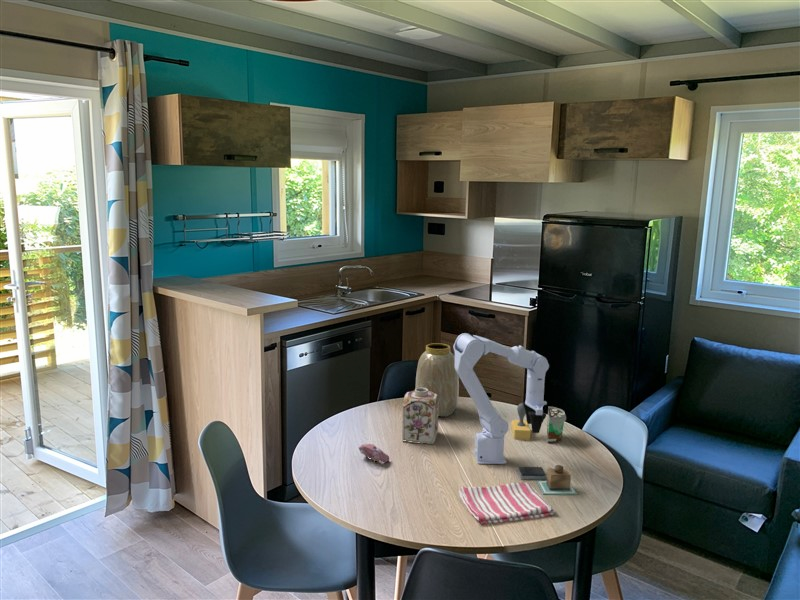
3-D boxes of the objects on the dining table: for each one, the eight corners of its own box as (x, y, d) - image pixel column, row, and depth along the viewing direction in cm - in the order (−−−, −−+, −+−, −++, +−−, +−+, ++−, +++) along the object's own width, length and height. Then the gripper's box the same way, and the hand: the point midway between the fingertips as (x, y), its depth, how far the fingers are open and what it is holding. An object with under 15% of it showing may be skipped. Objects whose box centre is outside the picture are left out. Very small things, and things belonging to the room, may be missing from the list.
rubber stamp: (530, 440, 220) (532, 408, 217) (514, 439, 220) (515, 407, 218) (526, 429, 229) (528, 398, 227) (511, 428, 230) (512, 398, 228)
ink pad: (521, 479, 190) (521, 475, 189) (517, 470, 195) (517, 466, 195) (546, 479, 190) (547, 475, 189) (542, 470, 196) (542, 466, 195)
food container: (565, 446, 214) (567, 419, 213) (547, 444, 216) (549, 417, 214) (563, 432, 226) (565, 407, 225) (546, 431, 228) (548, 405, 226)
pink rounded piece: (361, 460, 205) (354, 445, 201) (370, 451, 207) (363, 436, 204) (383, 470, 198) (376, 454, 195) (391, 460, 201) (385, 445, 197)
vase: (466, 411, 247) (468, 346, 242) (439, 422, 235) (440, 354, 230) (434, 400, 258) (435, 338, 254) (406, 411, 246) (407, 346, 241)
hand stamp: (549, 490, 182) (551, 469, 181) (546, 484, 186) (547, 463, 185) (569, 490, 182) (571, 469, 181) (566, 484, 186) (567, 463, 185)
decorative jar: (438, 432, 225) (439, 385, 222) (434, 445, 214) (435, 395, 211) (406, 429, 227) (407, 383, 224) (401, 442, 216) (401, 393, 213)
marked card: (543, 494, 180) (543, 493, 180) (536, 481, 188) (536, 480, 188) (577, 494, 181) (577, 493, 180) (569, 481, 188) (569, 480, 188)
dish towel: (456, 496, 180) (457, 485, 179) (529, 488, 185) (530, 477, 185) (478, 527, 163) (478, 515, 163) (557, 517, 169) (558, 505, 168)
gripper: (552, 396, 197) (550, 436, 199) (541, 382, 211) (539, 419, 213) (530, 396, 196) (528, 436, 199) (521, 382, 211) (519, 419, 213)
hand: (533, 427), depth 206 cm, fingers open, 7 cm apart
